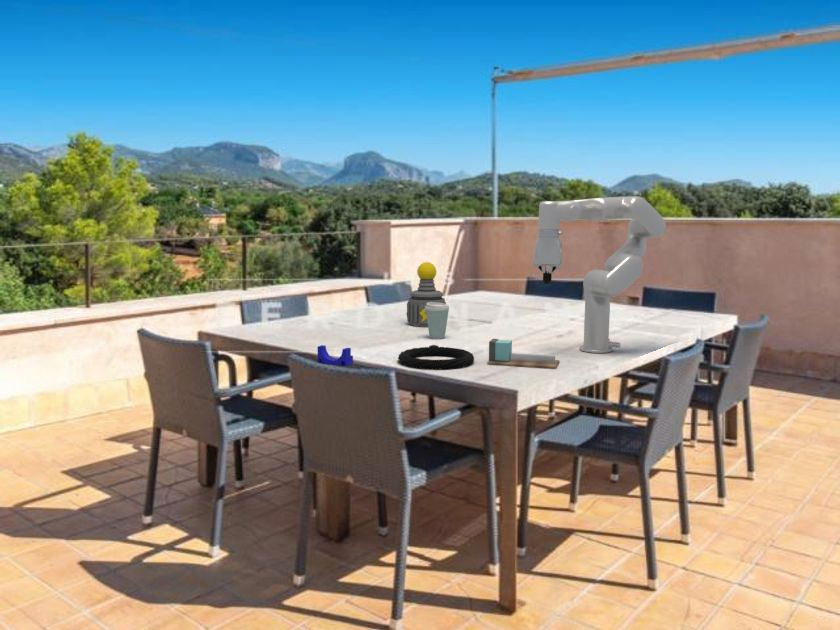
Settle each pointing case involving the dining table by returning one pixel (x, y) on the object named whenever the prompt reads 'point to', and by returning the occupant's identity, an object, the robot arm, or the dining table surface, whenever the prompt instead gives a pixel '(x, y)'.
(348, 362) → the cable clip
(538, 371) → the dining table surface
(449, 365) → the cable lock
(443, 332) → the disposable coffee cup
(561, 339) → the dining table surface
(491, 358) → the stop
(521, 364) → the board
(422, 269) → the decorative lamp
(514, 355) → the rail
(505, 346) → the slider
